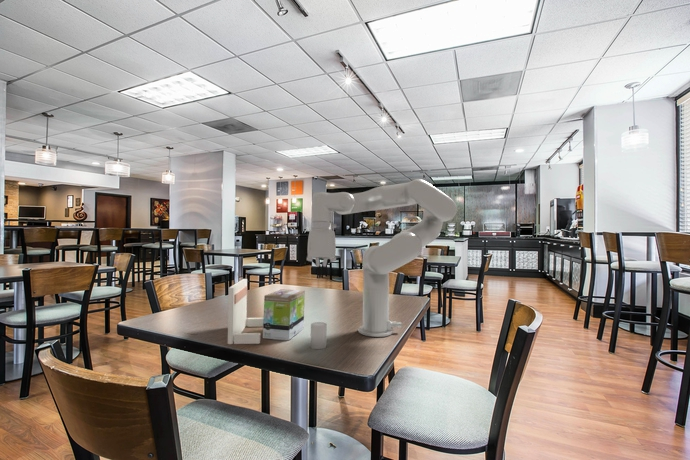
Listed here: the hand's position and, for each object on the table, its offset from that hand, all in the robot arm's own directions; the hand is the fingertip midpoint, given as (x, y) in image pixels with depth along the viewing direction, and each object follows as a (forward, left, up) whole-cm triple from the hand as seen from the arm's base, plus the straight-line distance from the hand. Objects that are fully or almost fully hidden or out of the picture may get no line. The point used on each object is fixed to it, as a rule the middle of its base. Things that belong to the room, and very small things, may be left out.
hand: (320, 277), depth 117 cm
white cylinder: (+1, +14, -20) cm, 25 cm away
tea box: (+13, 0, -20) cm, 24 cm away
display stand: (+24, 0, -20) cm, 31 cm away
